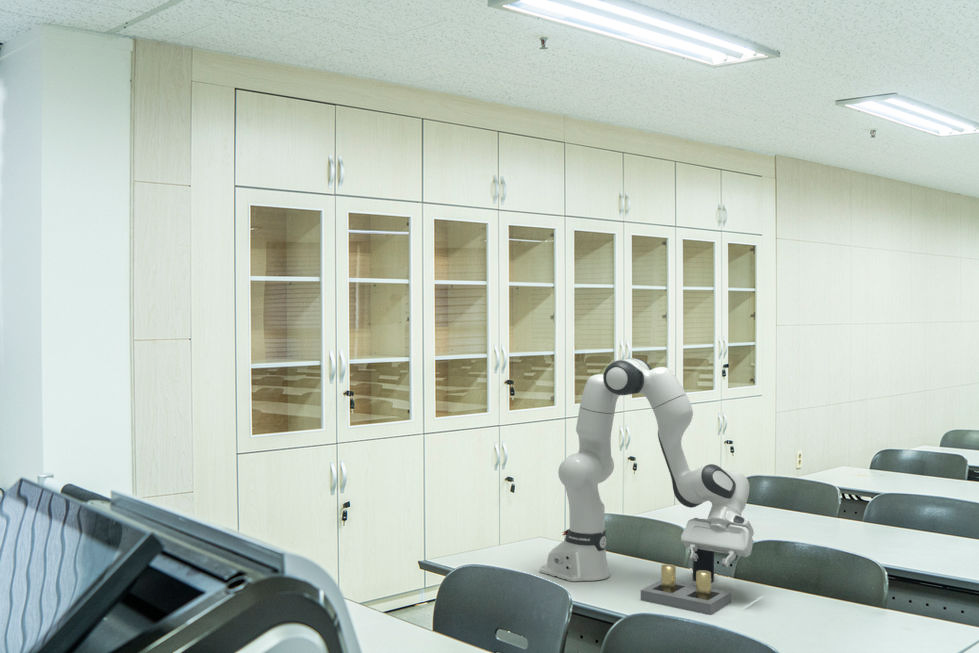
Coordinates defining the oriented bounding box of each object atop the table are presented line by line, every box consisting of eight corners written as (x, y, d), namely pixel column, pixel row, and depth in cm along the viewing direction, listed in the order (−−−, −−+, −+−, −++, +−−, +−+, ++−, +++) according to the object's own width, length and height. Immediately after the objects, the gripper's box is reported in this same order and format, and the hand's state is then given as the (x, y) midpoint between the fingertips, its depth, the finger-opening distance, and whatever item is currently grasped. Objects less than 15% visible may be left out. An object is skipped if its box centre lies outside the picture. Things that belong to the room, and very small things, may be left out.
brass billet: (693, 605, 239) (693, 572, 239) (700, 601, 242) (699, 569, 242) (707, 607, 237) (707, 575, 237) (713, 604, 240) (713, 571, 240)
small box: (714, 582, 264) (714, 548, 264) (693, 581, 265) (692, 547, 265) (713, 573, 274) (712, 540, 274) (692, 572, 275) (691, 539, 275)
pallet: (640, 602, 244) (640, 590, 244) (663, 591, 255) (663, 579, 255) (710, 617, 231) (710, 604, 231) (731, 604, 242) (731, 592, 242)
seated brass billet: (659, 597, 246) (658, 566, 246) (665, 594, 249) (665, 563, 249) (671, 600, 243) (671, 568, 243) (678, 597, 246) (678, 565, 247)
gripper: (686, 510, 255) (671, 550, 248) (753, 520, 243) (739, 562, 235) (693, 523, 259) (678, 562, 251) (759, 533, 246) (746, 575, 238)
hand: (708, 562), depth 243 cm, fingers open, 8 cm apart
